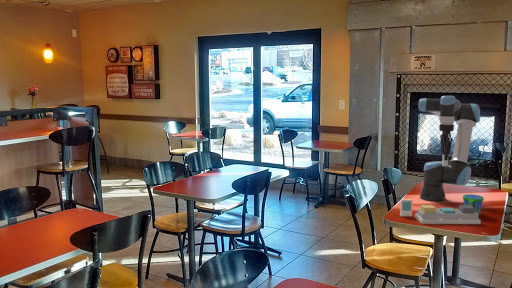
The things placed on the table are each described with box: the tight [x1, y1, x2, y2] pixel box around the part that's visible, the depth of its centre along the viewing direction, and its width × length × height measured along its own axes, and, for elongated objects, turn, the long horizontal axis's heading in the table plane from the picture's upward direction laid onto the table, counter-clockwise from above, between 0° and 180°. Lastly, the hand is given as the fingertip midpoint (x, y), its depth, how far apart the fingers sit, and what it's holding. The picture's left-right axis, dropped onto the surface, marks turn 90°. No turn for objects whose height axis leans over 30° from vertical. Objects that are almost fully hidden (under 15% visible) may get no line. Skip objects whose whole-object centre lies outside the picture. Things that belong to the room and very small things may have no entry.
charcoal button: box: [458, 204, 475, 213], centre depth 248 cm, size 6×6×4 cm
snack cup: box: [462, 194, 485, 215], centre depth 260 cm, size 16×10×10 cm
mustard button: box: [420, 204, 437, 213], centre depth 249 cm, size 6×6×4 cm
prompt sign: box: [399, 198, 413, 217], centre depth 258 cm, size 3×6×9 cm, turn 87°
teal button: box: [439, 207, 455, 213], centre depth 249 cm, size 6×6×4 cm
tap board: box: [414, 208, 482, 225], centre depth 249 cm, size 12×30×5 cm, turn 87°
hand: (444, 165), depth 263 cm, fingers closed
